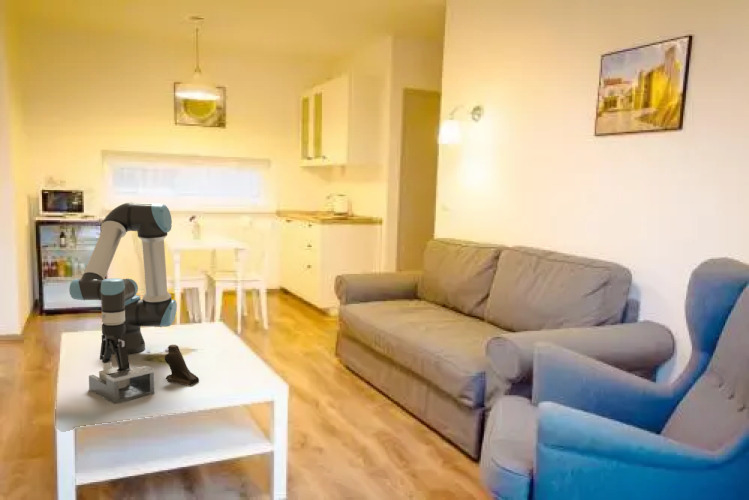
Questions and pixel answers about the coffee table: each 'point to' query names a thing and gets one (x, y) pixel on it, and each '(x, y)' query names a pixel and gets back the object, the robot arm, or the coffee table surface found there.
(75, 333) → the coffee table surface
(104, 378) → the small box
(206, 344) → the coffee table surface
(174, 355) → the sculpture
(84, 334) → the coffee table surface
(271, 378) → the coffee table surface
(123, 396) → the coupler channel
